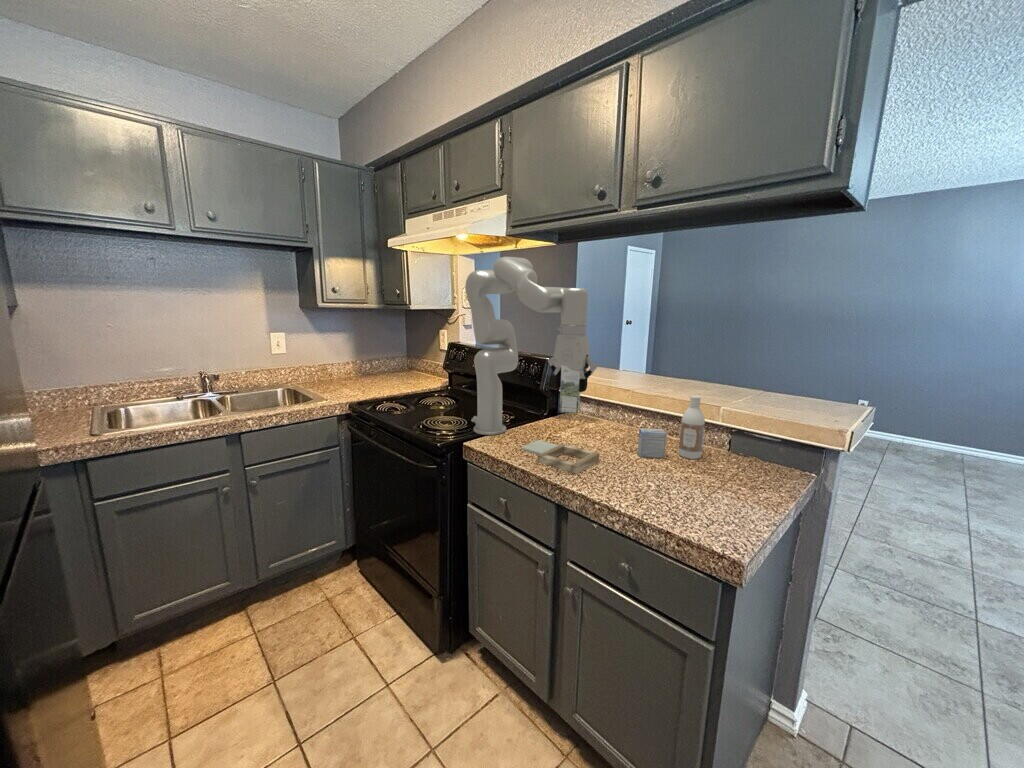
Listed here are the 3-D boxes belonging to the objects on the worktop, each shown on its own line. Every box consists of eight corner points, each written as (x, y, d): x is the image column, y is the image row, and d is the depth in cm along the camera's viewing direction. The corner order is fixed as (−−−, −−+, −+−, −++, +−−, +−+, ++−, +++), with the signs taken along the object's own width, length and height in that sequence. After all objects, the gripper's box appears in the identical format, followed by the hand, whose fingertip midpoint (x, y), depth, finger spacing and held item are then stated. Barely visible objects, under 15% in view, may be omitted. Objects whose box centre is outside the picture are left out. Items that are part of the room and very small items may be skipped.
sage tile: (520, 449, 142) (521, 447, 142) (537, 442, 149) (538, 439, 149) (545, 456, 136) (545, 454, 136) (561, 448, 143) (562, 446, 143)
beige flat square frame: (537, 462, 130) (537, 455, 130) (561, 450, 141) (561, 443, 141) (576, 474, 122) (577, 466, 121) (599, 460, 133) (599, 453, 132)
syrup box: (579, 409, 131) (581, 363, 128) (578, 414, 125) (580, 366, 122) (561, 408, 132) (563, 362, 129) (559, 412, 126) (561, 365, 123)
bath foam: (675, 456, 137) (681, 396, 133) (681, 450, 142) (686, 393, 138) (698, 461, 133) (704, 400, 129) (703, 455, 138) (709, 396, 134)
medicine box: (661, 453, 139) (663, 428, 138) (664, 458, 135) (667, 433, 133) (637, 452, 140) (638, 427, 138) (639, 457, 136) (641, 432, 134)
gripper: (541, 329, 126) (539, 387, 129) (593, 333, 115) (590, 396, 119) (555, 328, 132) (553, 383, 135) (606, 332, 121) (602, 391, 125)
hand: (570, 388), depth 127 cm, fingers closed on syrup box, 7 cm apart
